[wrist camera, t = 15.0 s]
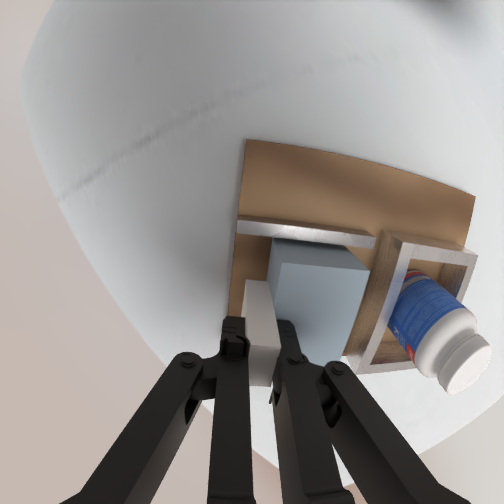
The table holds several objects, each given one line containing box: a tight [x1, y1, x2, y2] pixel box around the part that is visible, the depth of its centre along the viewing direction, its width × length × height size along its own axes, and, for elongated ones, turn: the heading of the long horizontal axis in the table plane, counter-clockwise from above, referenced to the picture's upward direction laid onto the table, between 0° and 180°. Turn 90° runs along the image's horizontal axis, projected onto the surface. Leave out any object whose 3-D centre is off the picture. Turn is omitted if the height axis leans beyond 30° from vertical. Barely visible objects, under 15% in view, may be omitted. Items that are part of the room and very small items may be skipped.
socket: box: [344, 229, 478, 375], centre depth 18 cm, size 11×8×3 cm
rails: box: [236, 214, 376, 249], centre depth 18 cm, size 10×9×2 cm
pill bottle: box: [387, 270, 492, 395], centre depth 15 cm, size 6×5×10 cm
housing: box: [266, 237, 370, 366], centre depth 17 cm, size 8×5×4 cm, turn 173°
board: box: [228, 139, 476, 356], centre depth 20 cm, size 16×20×1 cm
